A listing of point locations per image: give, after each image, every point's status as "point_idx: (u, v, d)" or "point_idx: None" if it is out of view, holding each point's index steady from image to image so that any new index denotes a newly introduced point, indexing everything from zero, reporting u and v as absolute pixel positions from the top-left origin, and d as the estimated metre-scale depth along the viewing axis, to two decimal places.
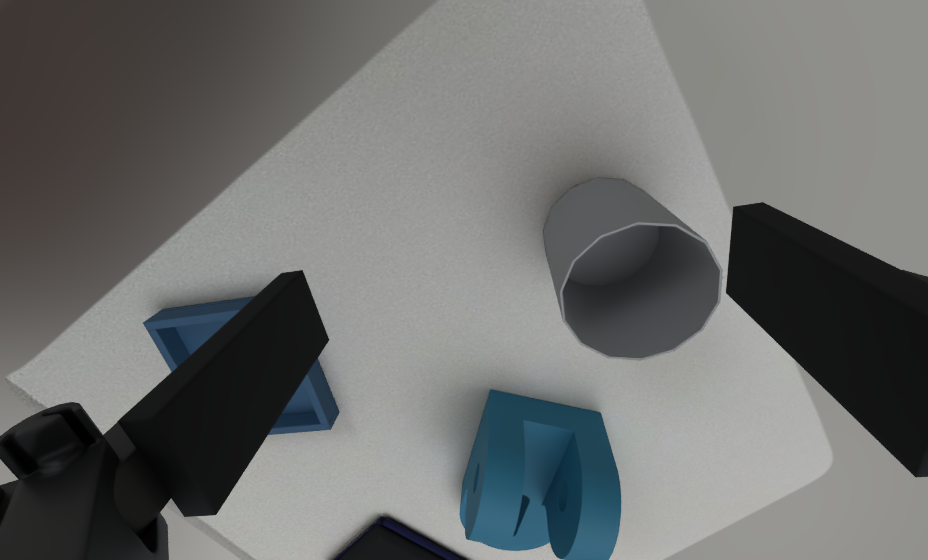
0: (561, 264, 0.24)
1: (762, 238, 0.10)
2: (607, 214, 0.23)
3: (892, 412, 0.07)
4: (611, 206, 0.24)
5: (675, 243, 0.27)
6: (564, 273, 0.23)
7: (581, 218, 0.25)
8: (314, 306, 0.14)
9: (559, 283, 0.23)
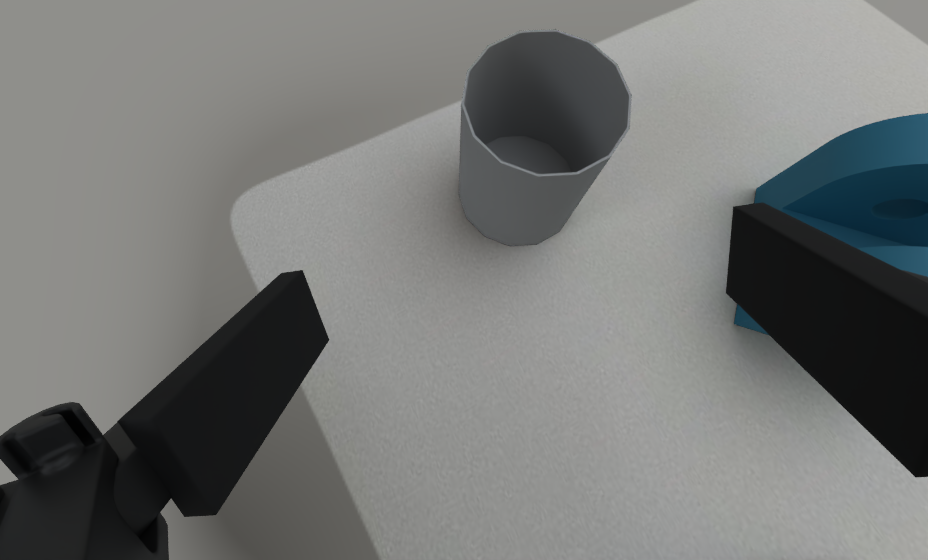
0: (515, 187, 0.21)
1: (761, 238, 0.10)
2: (465, 147, 0.23)
3: (892, 412, 0.07)
4: (462, 150, 0.24)
5: (518, 108, 0.28)
6: (518, 175, 0.20)
7: (474, 179, 0.24)
8: (314, 306, 0.14)
9: (532, 181, 0.20)
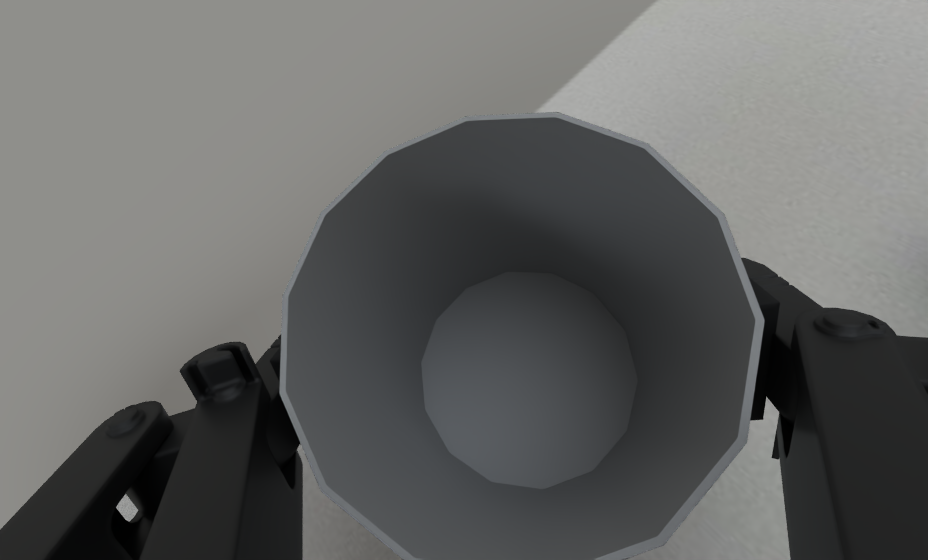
0: None
1: None
2: None
3: None
4: None
5: (472, 250, 0.15)
6: None
7: None
8: None
9: None
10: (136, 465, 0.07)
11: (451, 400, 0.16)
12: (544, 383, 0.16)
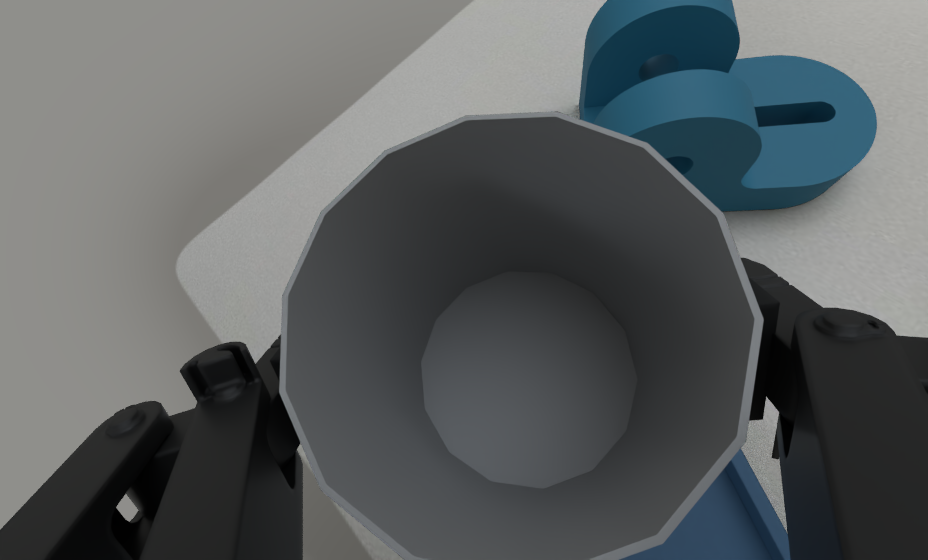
0: None
1: None
2: None
3: None
4: None
5: (472, 250, 0.15)
6: None
7: None
8: None
9: None
10: (136, 465, 0.07)
11: (451, 400, 0.16)
12: (544, 383, 0.16)
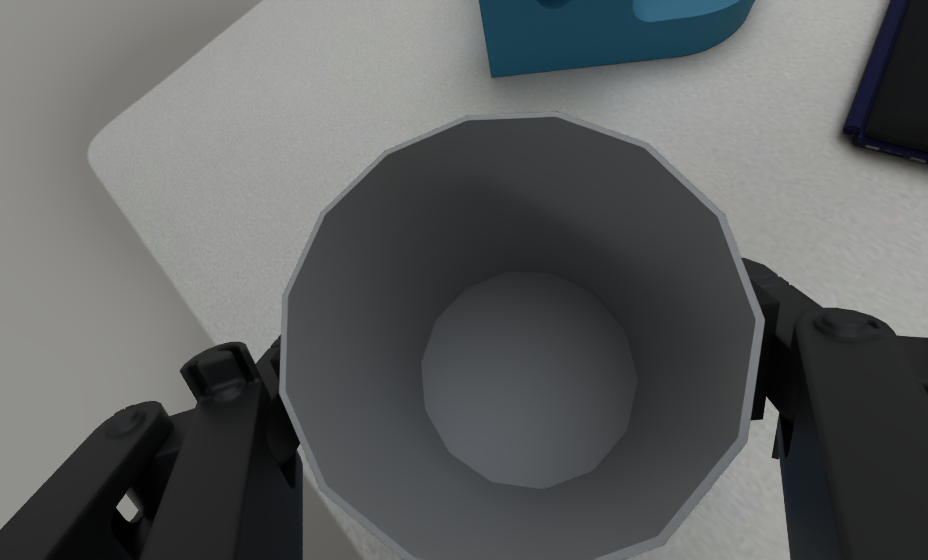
0: None
1: None
2: None
3: None
4: None
5: (472, 250, 0.15)
6: None
7: None
8: None
9: None
10: (136, 465, 0.07)
11: (451, 400, 0.16)
12: (544, 383, 0.16)
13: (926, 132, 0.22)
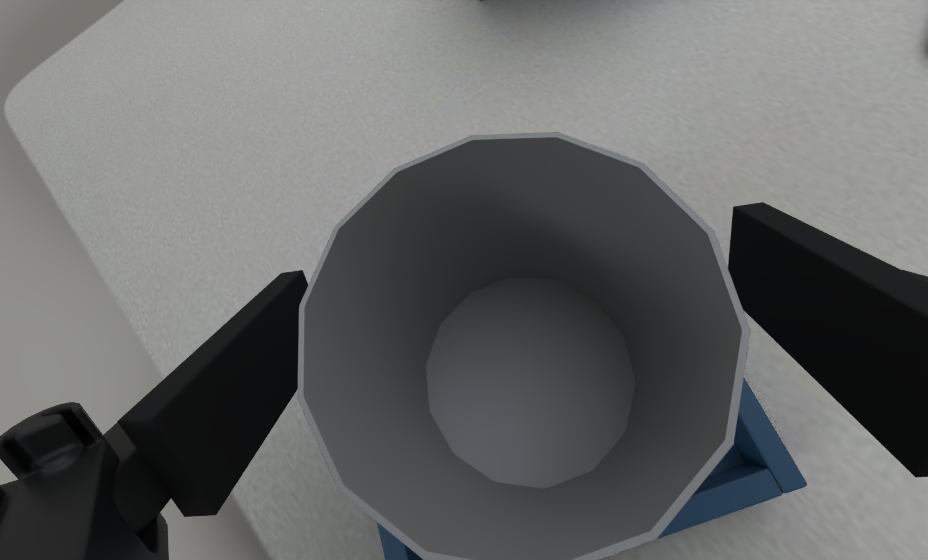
0: None
1: (761, 238, 0.10)
2: None
3: (892, 412, 0.07)
4: None
5: (475, 258, 0.15)
6: None
7: None
8: None
9: None
10: None
11: (455, 402, 0.17)
12: (545, 386, 0.16)
13: None
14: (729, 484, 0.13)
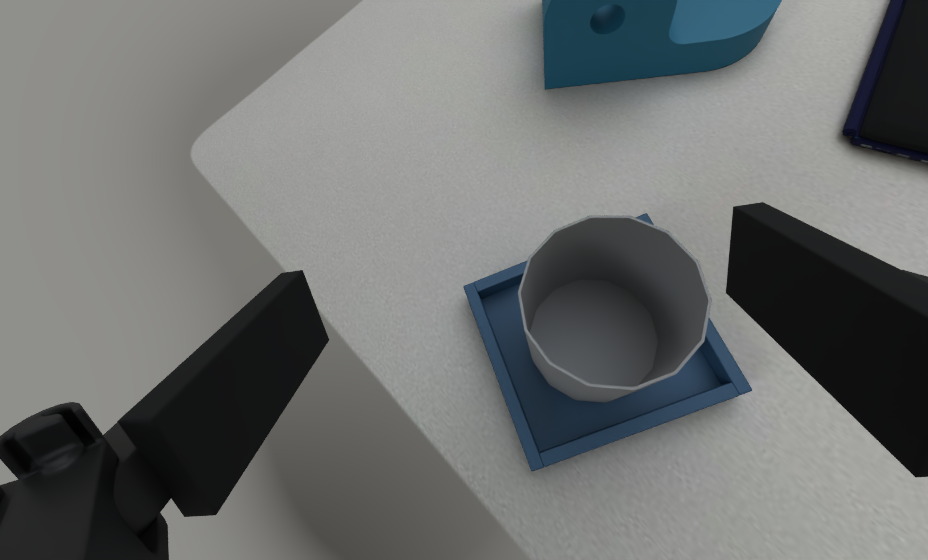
0: (607, 391, 0.20)
1: (762, 238, 0.10)
2: (538, 355, 0.22)
3: (892, 412, 0.07)
4: (533, 351, 0.23)
5: (567, 268, 0.26)
6: (610, 389, 0.19)
7: (555, 377, 0.22)
8: (314, 305, 0.14)
9: (627, 390, 0.18)
10: None
11: (549, 354, 0.28)
12: (604, 343, 0.28)
13: (909, 133, 0.28)
14: (710, 391, 0.25)
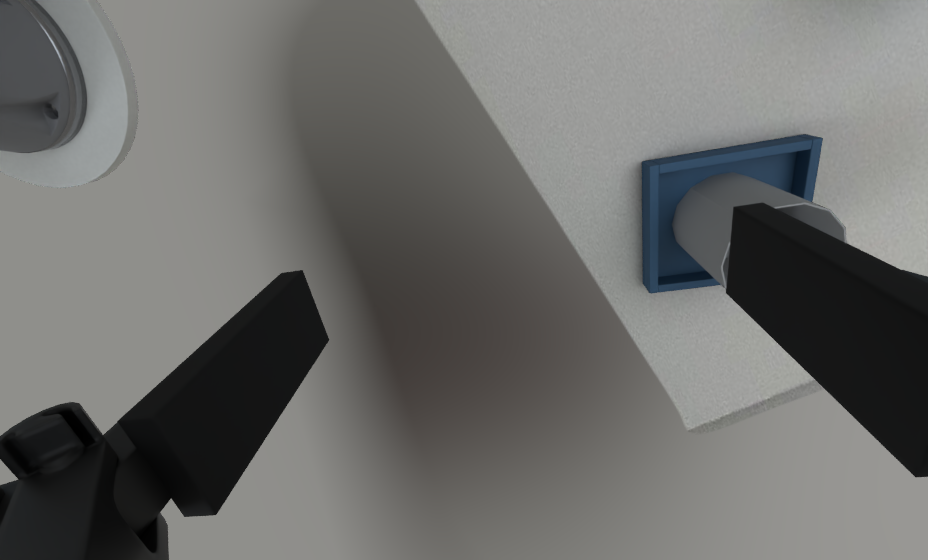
0: None
1: (761, 238, 0.10)
2: (708, 264, 0.34)
3: (892, 412, 0.07)
4: (702, 255, 0.35)
5: None
6: None
7: (706, 270, 0.36)
8: (314, 306, 0.14)
9: None
10: None
11: None
12: None
13: None
14: None
